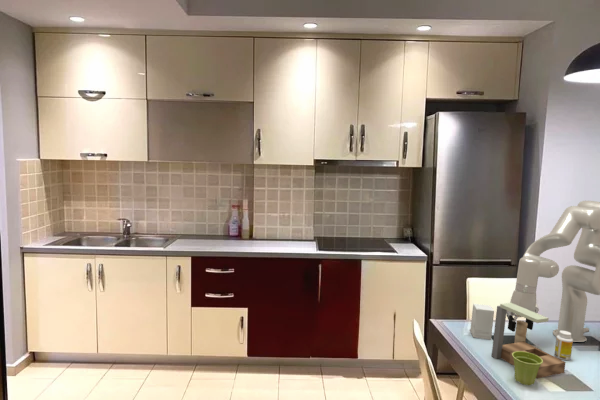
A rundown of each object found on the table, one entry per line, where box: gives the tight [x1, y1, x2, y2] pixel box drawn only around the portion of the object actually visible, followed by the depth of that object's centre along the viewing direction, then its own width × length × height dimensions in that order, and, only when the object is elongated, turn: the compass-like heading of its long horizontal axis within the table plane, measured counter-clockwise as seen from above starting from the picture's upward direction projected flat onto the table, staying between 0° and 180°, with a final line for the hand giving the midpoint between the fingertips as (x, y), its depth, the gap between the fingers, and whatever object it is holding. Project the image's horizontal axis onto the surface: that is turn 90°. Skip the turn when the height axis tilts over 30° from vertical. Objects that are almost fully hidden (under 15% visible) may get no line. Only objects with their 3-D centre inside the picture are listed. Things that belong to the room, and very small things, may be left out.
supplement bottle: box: [553, 331, 574, 361], centre depth 176 cm, size 6×6×10 cm
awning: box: [491, 302, 550, 360], centre depth 166 cm, size 6×17×21 cm, turn 23°
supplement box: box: [470, 303, 495, 341], centre depth 193 cm, size 7×7×13 cm
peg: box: [514, 320, 528, 343], centre depth 185 cm, size 4×4×10 cm
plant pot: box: [512, 351, 543, 386], centre depth 155 cm, size 9×9×9 cm
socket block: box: [500, 342, 567, 379], centre depth 169 cm, size 14×18×4 cm
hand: (519, 329), depth 184 cm, fingers open, 9 cm apart
